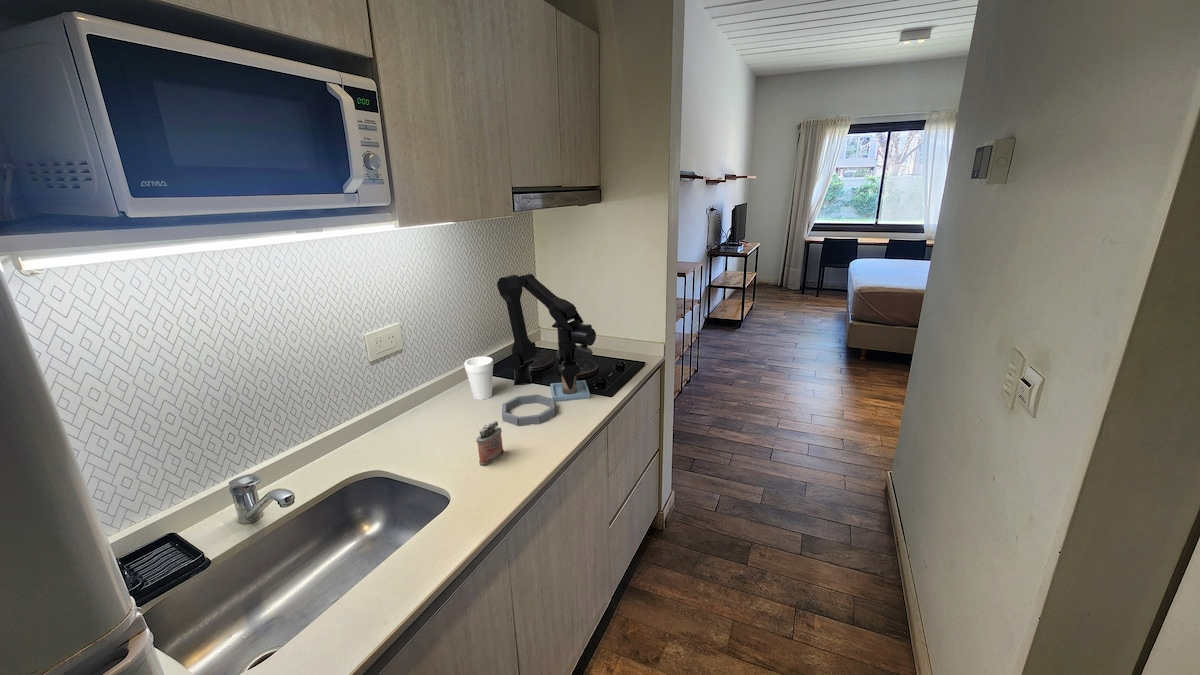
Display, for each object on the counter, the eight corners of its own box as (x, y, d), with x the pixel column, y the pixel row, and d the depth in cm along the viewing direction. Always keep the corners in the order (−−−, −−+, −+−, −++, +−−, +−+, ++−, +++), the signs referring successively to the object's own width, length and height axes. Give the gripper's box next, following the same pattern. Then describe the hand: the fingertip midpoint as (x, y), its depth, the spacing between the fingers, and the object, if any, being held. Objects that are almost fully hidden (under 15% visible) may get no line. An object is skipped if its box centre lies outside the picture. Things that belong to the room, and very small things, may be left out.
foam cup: (499, 390, 174) (496, 356, 170) (491, 402, 165) (487, 366, 161) (474, 390, 175) (469, 356, 171) (464, 401, 166) (460, 366, 162)
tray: (550, 388, 174) (550, 383, 173) (585, 384, 176) (585, 380, 175) (552, 402, 163) (552, 397, 163) (590, 398, 165) (589, 393, 164)
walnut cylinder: (561, 389, 171) (560, 370, 169) (576, 387, 172) (574, 369, 170) (563, 395, 167) (562, 376, 164) (577, 393, 167) (576, 374, 165)
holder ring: (503, 404, 163) (502, 397, 162) (552, 399, 165) (552, 392, 164) (502, 427, 147) (501, 420, 146) (556, 421, 150) (555, 414, 149)
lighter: (485, 467, 127) (481, 433, 124) (476, 464, 129) (472, 430, 126) (506, 453, 133) (503, 420, 130) (497, 449, 135) (494, 417, 132)
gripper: (594, 347, 156) (596, 392, 161) (586, 331, 173) (588, 371, 178) (559, 350, 154) (562, 395, 159) (555, 333, 172) (558, 374, 177)
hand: (569, 383), depth 168 cm, fingers open, 9 cm apart
